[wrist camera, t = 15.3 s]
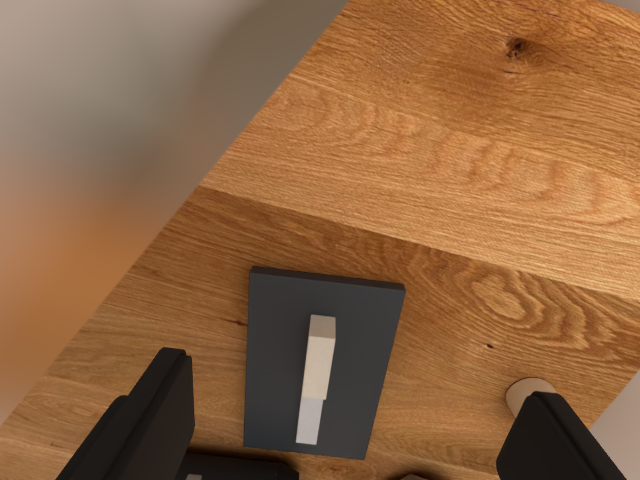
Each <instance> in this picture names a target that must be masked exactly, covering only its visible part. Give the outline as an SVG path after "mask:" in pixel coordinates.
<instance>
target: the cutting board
mask: <svg viewBox="0 0 640 480" xmlns="http://www.w3.org/2000/svg"><path fill="white" fill-rule="evenodd" d="M405 293H406V290H405V287H404V285H403V284H400V283H391V282H383V281H375V280H366V279H358V278H349V277H341V276H332V275H324V274H316V273H307V272H299V271H290V270H282V269H274V268H265V267H257V266H253V267H252V269H251V271H250V277H249V305H248V334H247V362H246V390H245V418H244V447H252V448H261V449H270V450H278V451H287V452H296V453H304V454H313V455H322V456H330V457H339V458H348V459H356V460H365V456H366V451H367V447H368V443H369V439H370V435H371V431H372V427H373V423H374V419H375V415H376V411H377V407H378V403H379V399H380V395H381V390H382V386H383V382H384V378H385V374H386V370H387V366H388V362H389V358H390V354H391V350H392V346H393V342H394V338H395V334H396V329H397V325H398V321H399V317H400V313H401V309H402V305H403V301H404V297H405ZM311 315H320V316H329V317H335V346H334V352H333V358H332V364H331V371H330V377H329V383H328V389H327V396H326V400H324V399H323V404H322V411H321V417H320V423H319V430H318V436H317V443H316V445H314V444H305V443H297V442H296V436H297V427H298V419H299V411H300V403H301V394H302V386H303V378H304V369H305V361H306V353H307V345H308V336H309V328H310V320H311Z"/></svg>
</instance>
